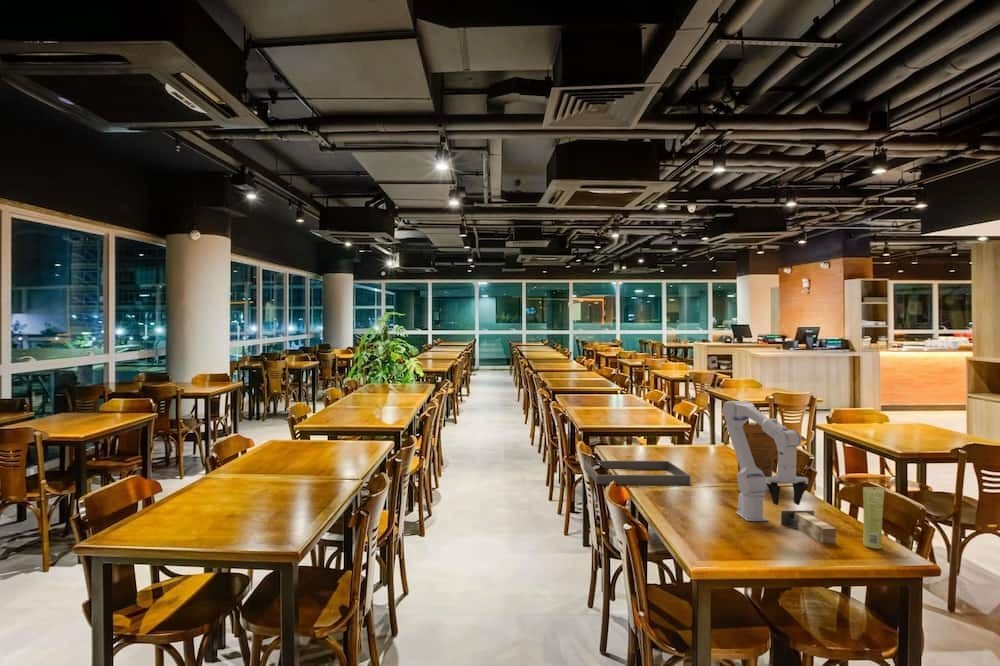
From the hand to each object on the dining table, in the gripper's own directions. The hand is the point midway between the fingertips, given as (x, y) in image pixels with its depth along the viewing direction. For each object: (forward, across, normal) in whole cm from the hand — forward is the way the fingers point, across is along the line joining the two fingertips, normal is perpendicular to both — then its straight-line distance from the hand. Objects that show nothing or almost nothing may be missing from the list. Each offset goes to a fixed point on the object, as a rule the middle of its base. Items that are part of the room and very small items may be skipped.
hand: (786, 504), depth 196 cm
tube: (+10, +22, -13) cm, 27 cm away
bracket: (+10, +9, +6) cm, 14 cm away
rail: (+10, +9, -2) cm, 14 cm away
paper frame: (+10, -31, +74) cm, 81 cm away
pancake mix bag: (+10, +22, +61) cm, 66 cm away
